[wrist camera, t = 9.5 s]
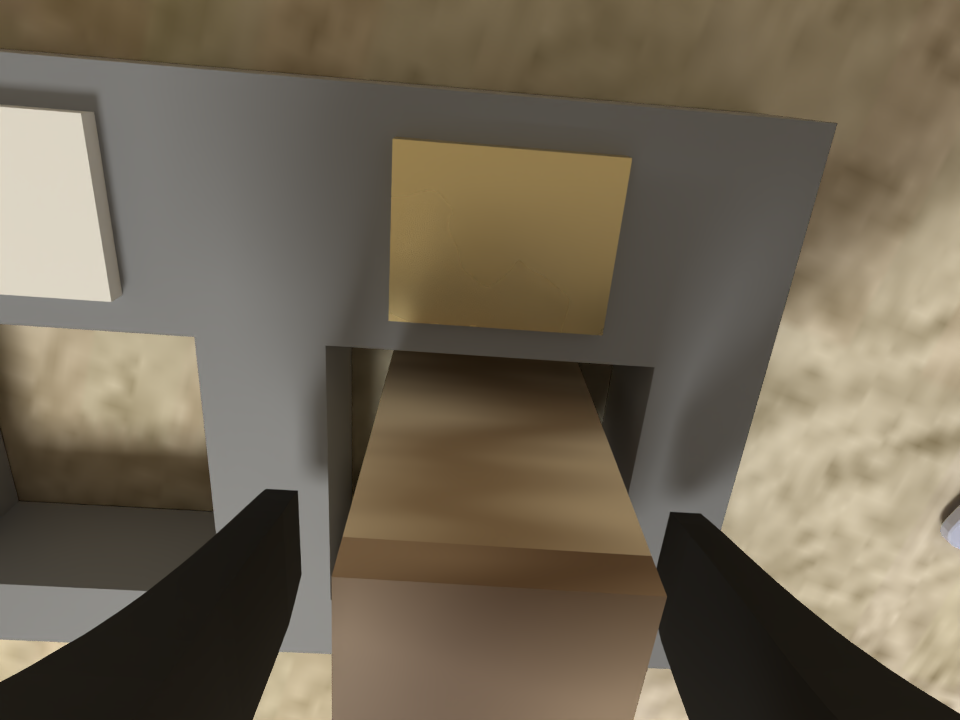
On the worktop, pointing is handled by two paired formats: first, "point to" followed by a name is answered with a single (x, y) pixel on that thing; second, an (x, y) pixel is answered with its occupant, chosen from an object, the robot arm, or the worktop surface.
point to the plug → (490, 553)
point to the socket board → (380, 283)
